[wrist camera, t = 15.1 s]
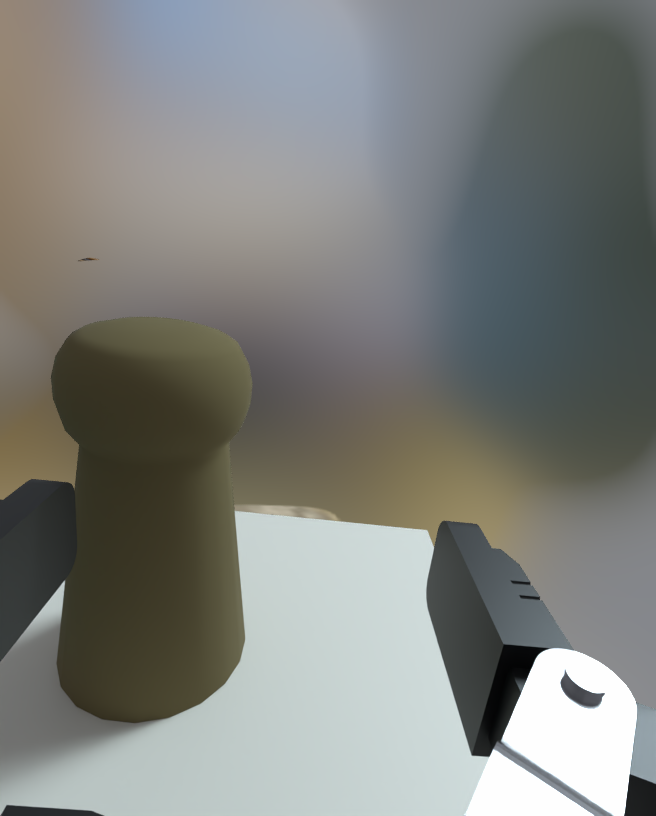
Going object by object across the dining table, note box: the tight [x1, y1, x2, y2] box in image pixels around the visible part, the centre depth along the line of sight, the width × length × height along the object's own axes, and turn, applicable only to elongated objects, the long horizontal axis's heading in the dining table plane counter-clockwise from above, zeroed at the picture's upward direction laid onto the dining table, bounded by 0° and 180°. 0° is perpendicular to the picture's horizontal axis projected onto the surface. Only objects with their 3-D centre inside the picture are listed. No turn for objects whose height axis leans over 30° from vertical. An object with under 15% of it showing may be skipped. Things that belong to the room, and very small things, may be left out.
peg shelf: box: [0, 511, 490, 816], centre depth 18 cm, size 16×16×4 cm
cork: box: [51, 317, 252, 723], centre depth 15 cm, size 6×6×11 cm
